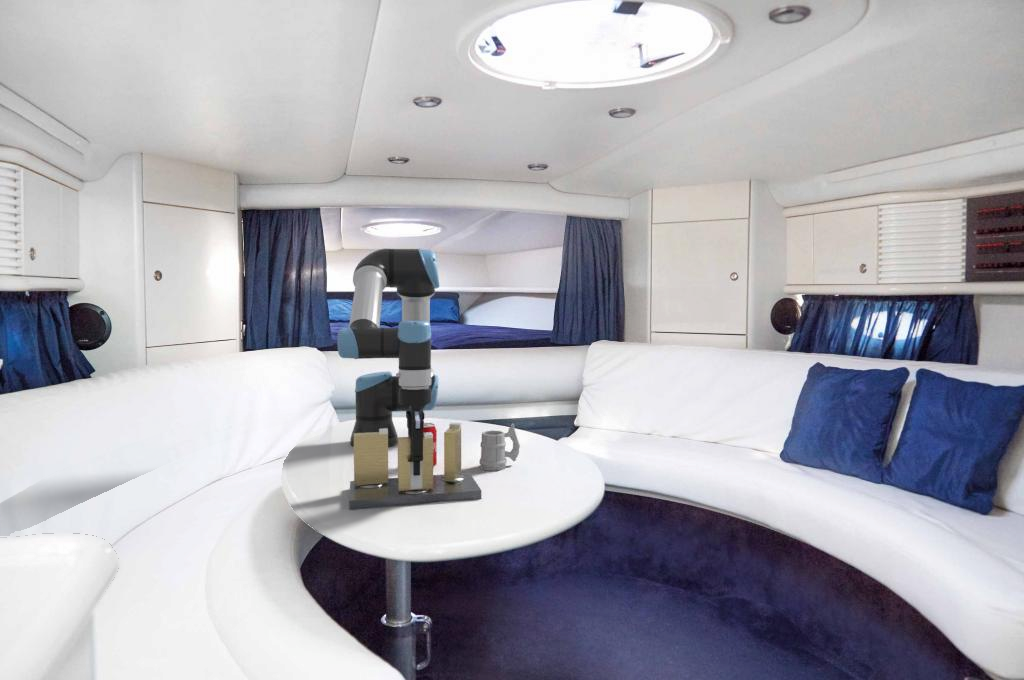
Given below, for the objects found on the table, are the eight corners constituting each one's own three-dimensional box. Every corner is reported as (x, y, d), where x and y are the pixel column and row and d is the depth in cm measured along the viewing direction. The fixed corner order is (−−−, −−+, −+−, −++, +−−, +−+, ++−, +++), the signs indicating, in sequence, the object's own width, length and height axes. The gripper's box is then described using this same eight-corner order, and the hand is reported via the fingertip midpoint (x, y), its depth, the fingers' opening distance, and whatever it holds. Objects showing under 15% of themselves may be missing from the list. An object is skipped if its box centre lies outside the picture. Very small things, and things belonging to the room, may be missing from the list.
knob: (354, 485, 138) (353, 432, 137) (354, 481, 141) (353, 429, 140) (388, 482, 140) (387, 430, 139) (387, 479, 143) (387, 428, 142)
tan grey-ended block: (398, 491, 134) (398, 436, 133) (398, 487, 137) (397, 433, 136) (433, 488, 136) (433, 434, 135) (431, 484, 139) (431, 432, 138)
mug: (475, 465, 165) (475, 423, 164) (514, 461, 169) (514, 420, 169) (484, 472, 158) (484, 429, 157) (524, 468, 162) (524, 425, 162)
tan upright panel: (454, 481, 141) (454, 429, 141) (444, 481, 142) (443, 429, 141) (461, 472, 149) (461, 423, 149) (451, 471, 150) (451, 422, 149)
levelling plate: (350, 489, 143) (350, 479, 143) (469, 480, 151) (469, 471, 151) (349, 509, 129) (349, 499, 129) (481, 498, 136) (481, 488, 136)
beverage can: (432, 470, 160) (432, 427, 159) (411, 469, 161) (410, 426, 160) (439, 464, 166) (439, 423, 165) (419, 463, 167) (418, 422, 166)
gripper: (396, 383, 141) (397, 477, 143) (401, 392, 126) (401, 498, 128) (427, 382, 143) (427, 475, 145) (435, 391, 128) (435, 495, 130)
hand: (415, 485), depth 136 cm, fingers closed on tan grey-ended block, 3 cm apart
